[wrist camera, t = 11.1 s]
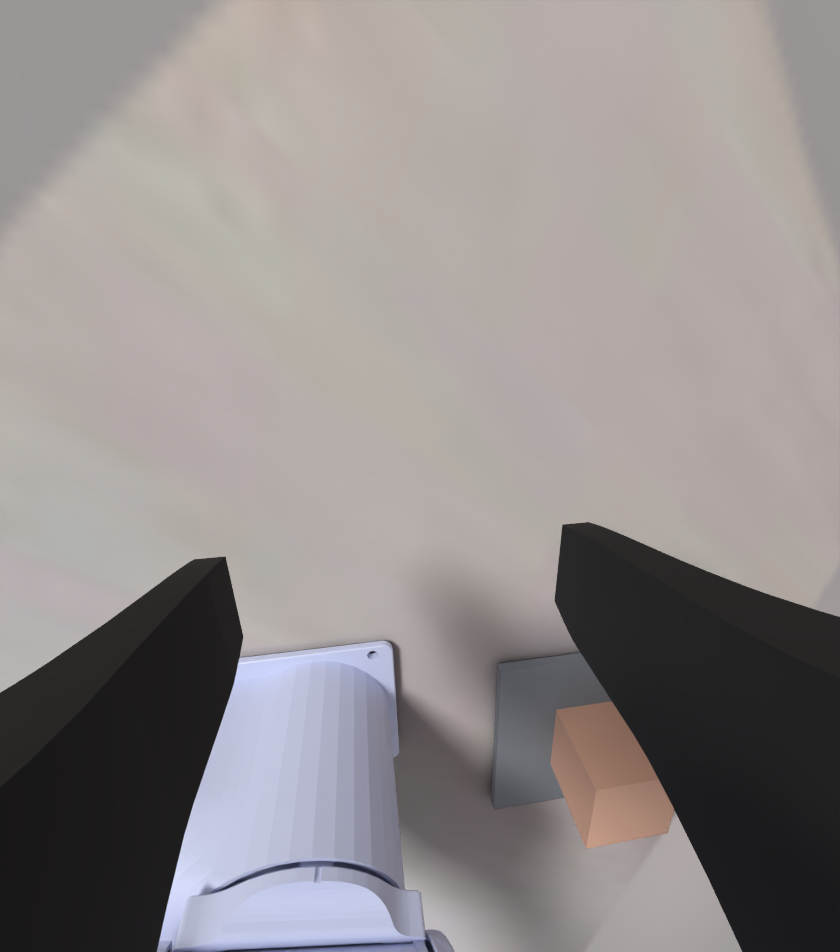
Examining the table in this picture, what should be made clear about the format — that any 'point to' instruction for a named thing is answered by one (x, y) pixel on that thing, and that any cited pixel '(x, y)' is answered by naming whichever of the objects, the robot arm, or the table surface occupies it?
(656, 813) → the cube
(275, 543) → the table surface
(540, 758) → the mat
